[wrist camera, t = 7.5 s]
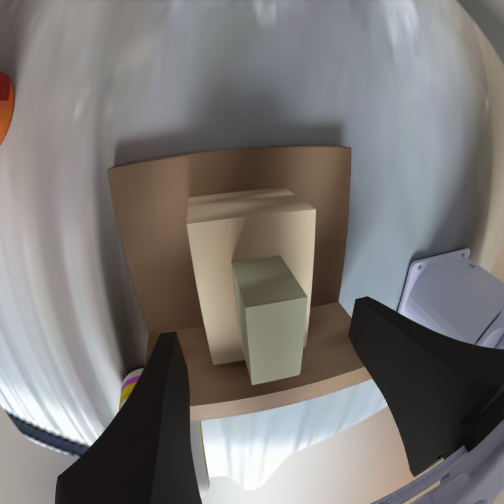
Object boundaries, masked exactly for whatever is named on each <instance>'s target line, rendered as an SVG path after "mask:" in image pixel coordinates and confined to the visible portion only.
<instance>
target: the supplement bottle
mask: <svg viewBox="0 0 504 504" xmlns="http://www.w3.org/2000/svg"><path fill="white" fill-rule="evenodd" d="M143 369H144V368H141V369H137V370H135V371H133V372H131V373H130V374H128V375H127V376H126V377H125V379H124V381H123V383H122V389H121V397H120V405H119V410H120V409H121V407H122V406H123V404H124V403H125V401H126V400H127V398H128V396H129V395H130V393H131V391H132V389H133V387H134V386H135V384H136V382H137V380H138V379H139V377H140V375H141V373H142V371H143ZM190 438H191V449H192V456H193V462H194V468H195V473H196V478H197V483H198V488H199V493H200V497H203V496H204V495H205V494H206V493H207V492H208V489H209V486H210V482H209V476H208V470H207V464H206V458H205V451H204V444H203V436H202V428H201V421H191V422H190Z"/></svg>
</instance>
